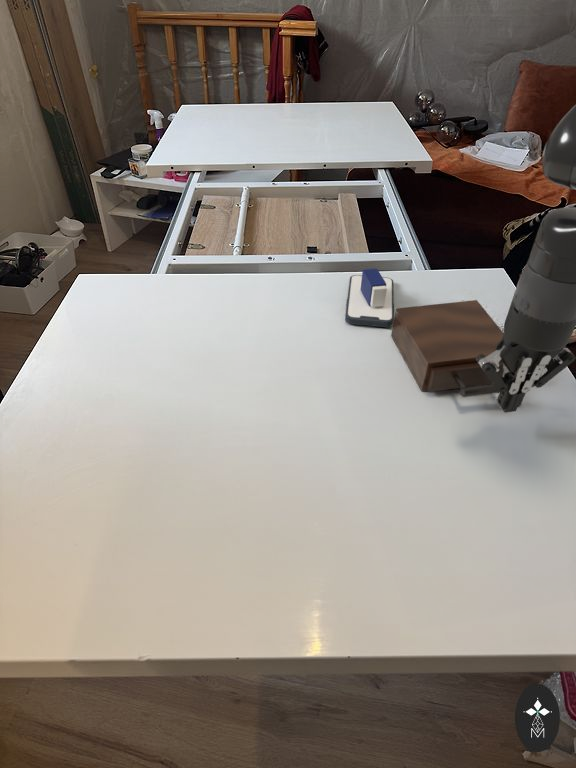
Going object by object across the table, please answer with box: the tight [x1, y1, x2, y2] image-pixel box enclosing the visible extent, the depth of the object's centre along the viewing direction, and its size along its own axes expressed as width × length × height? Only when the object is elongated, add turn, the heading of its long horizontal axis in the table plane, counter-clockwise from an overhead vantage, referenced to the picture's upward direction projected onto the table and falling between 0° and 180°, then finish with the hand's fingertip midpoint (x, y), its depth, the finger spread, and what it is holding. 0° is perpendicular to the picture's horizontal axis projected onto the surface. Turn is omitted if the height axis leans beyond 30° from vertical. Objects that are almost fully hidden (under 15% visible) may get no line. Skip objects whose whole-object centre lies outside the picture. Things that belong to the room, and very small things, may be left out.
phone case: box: [344, 274, 395, 328], centre depth 101 cm, size 9×2×16 cm
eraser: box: [360, 267, 387, 307], centre depth 98 cm, size 3×7×4 cm, turn 11°
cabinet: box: [390, 299, 504, 392], centre depth 88 cm, size 15×15×6 cm
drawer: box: [426, 360, 503, 398], centre depth 85 cm, size 18×14×4 cm
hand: (506, 407), depth 73 cm, fingers closed
